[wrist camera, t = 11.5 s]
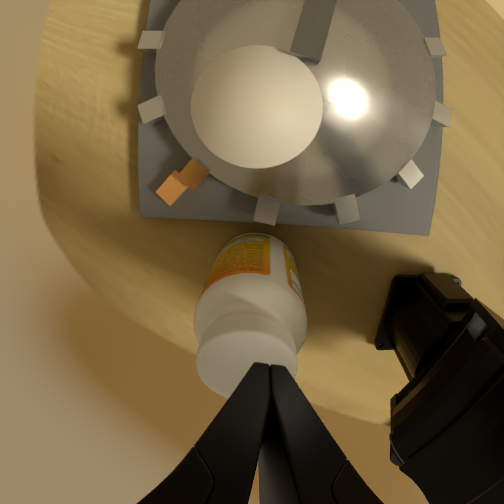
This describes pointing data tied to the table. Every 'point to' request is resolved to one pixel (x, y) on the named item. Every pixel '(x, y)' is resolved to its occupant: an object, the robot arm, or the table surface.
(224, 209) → the sprocket base
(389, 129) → the sprocket
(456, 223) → the table surface
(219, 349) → the supplement bottle
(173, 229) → the table surface
